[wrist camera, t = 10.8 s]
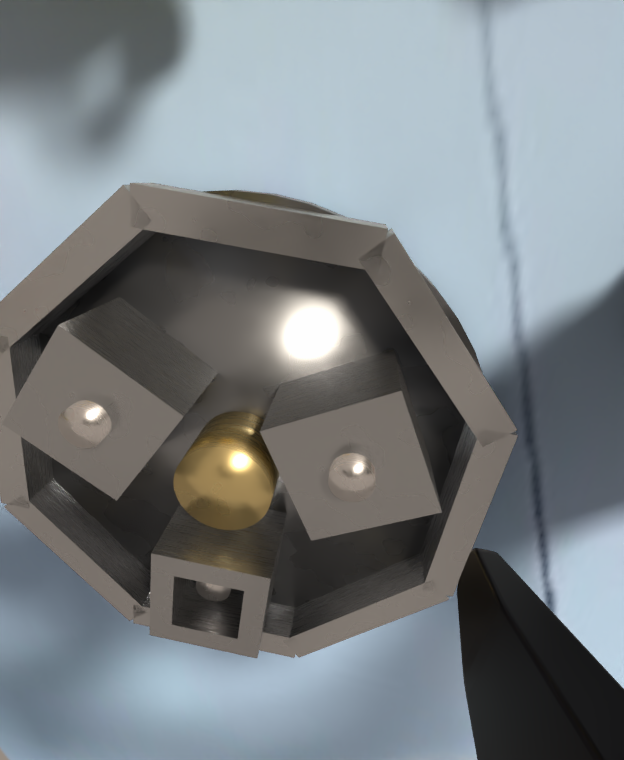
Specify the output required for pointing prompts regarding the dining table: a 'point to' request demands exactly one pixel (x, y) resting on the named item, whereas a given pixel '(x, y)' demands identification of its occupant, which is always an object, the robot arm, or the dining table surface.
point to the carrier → (248, 406)
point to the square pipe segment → (214, 582)
